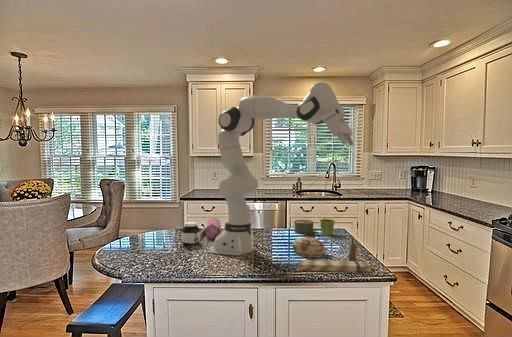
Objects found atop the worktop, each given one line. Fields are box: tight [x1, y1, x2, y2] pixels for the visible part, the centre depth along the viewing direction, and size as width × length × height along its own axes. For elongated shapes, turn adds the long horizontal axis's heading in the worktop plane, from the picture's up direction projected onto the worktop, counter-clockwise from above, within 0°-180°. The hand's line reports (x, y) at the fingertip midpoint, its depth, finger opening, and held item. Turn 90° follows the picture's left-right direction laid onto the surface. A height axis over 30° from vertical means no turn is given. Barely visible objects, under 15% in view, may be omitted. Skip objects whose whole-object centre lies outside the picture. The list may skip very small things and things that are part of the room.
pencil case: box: [205, 217, 222, 240], centre depth 197 cm, size 21×9×9 cm, turn 4°
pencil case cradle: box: [200, 226, 225, 240], centre depth 197 cm, size 13×23×3 cm, turn 176°
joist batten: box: [297, 259, 372, 273], centre depth 138 cm, size 30×6×2 cm, turn 86°
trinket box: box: [292, 236, 325, 258], centre depth 160 cm, size 13×15×8 cm
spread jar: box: [180, 221, 201, 246], centre depth 179 cm, size 12×11×12 cm
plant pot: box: [319, 218, 336, 237], centre depth 197 cm, size 9×9×9 cm
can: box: [294, 219, 314, 235], centre depth 203 cm, size 12×12×7 cm
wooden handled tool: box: [348, 236, 357, 261], centre depth 146 cm, size 3×3×12 cm
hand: (348, 144), depth 134 cm, fingers open, 8 cm apart
